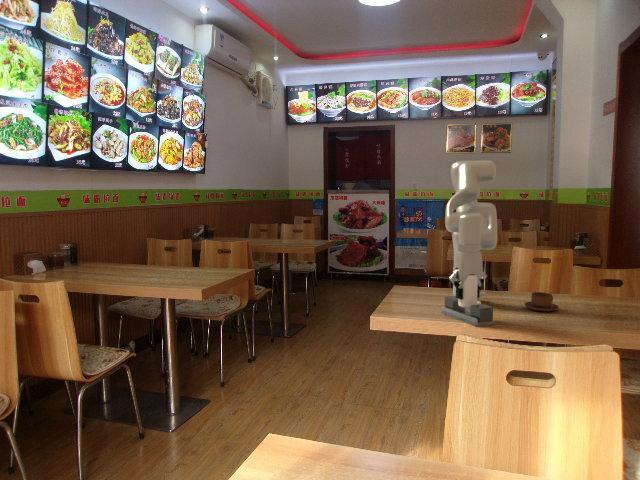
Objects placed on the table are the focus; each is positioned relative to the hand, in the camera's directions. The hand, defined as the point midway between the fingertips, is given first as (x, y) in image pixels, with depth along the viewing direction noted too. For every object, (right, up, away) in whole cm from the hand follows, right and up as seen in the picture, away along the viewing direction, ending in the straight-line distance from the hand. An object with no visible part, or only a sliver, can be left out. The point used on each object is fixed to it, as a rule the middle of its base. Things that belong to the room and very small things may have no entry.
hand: (467, 297), depth 180 cm
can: (0, -3, 0) cm, 3 cm away
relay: (+5, -7, +10) cm, 13 cm away
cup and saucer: (+33, -7, +15) cm, 37 cm away
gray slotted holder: (0, -8, +1) cm, 8 cm away
